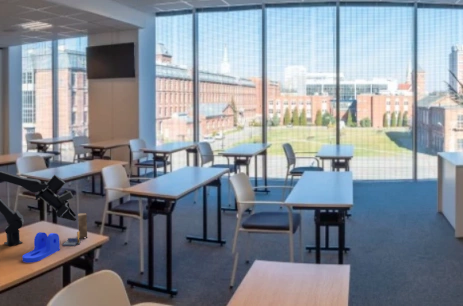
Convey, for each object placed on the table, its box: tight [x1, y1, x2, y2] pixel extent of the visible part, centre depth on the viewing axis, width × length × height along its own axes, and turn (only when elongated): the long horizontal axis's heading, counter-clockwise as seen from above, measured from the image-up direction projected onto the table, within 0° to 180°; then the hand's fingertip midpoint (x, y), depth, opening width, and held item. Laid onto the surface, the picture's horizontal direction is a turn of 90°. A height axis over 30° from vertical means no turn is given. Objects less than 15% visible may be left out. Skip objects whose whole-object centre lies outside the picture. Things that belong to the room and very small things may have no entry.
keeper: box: [62, 231, 82, 247], centre depth 221 cm, size 7×6×6 cm
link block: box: [77, 212, 88, 239], centre depth 232 cm, size 4×4×12 cm
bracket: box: [22, 231, 61, 264], centre depth 204 cm, size 18×8×9 cm, turn 167°
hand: (75, 218), depth 230 cm, fingers open, 9 cm apart
